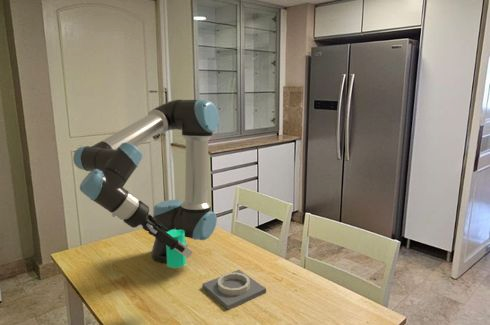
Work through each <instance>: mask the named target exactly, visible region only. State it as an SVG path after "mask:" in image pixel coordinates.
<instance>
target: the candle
mask: <svg viewBox="0 0 490 325" xmlns="http://www.w3.org/2000/svg"><path fill="white" fill-rule="evenodd" d="M167 233H168V234H170V235H171V236H172V237H173V238H175V239H176V240H178V241H180V242H181V243H183V244H184V245H185V241H186V237H185V232H184V230H182V229H181V230H174V229H172V230H170V231H168V232H167ZM166 252H167V263H166V266H168V267H169V268H173V269H177V268H181V267H184V266H185V265H186V264H187V261H186V260H187V258H186V257H185V256H183V255H182V254H181V253H179V252H178V251H176V250H175V249H172V250H170V247H169V246H167V245H166Z"/></svg>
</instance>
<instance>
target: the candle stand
mask: <svg viewBox="0 0 490 325" xmlns="http://www.w3.org/2000/svg"><path fill="white" fill-rule="evenodd" d="M201 287H202V289H203V290H204V291H206V292H207V293H208V294H209V295H210V296H211V297H212V298H214V299H215V300H216V301H217V302H218V303H219V304H220V305H222V306H223V307H224V308H226V310H231V309H233V308H236V307H238V306H239V305H241V304H244V303H247V302H248V301H251V300H253V299H254V298H257V297H259V296H261V295H263V294H265V293H267V288H266V287H265V286H263V285H262V284H260V283H259V282H258V281H256V280H255V279H254V278H252V277H250V276H249V275H247V274H246V273H245V272H243V271H241V270H240V269H237V270H234V271H232V272H227V273H226V274H222V275H221V276H219V277H216V278H213V279H211V280H209V281H208V280H207V281H206V282H203V283H202V284H201Z"/></svg>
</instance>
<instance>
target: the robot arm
mask: <svg viewBox="0 0 490 325" xmlns="http://www.w3.org/2000/svg"><path fill="white" fill-rule="evenodd" d="M219 124H220V115H219V111H218V108H217V107H216V105H215V104H214V102H212V101H210V100H205V99H174V100H171V101H167V102H166V103H163V104H160V105H159V106H157V107H155V108H153V109H151V110H150V111H148V113H147V115H146V116H144V117H143V118H140V119H138V120H137V121H135V122H133V123H131V124H130V125H128V126H126V127H125V128H122V129H121V130H119V131H117V132H115V133H113V134H112V135H110V136H108V137H106V138H104V139H103V140H101V141H98V142H97V143H96V144H93V145H92V146H89V145H86V146H80V147H78V148H77V149H76V150H75V151H74V153H73V164H74V165H75V166H76V168H78V169H79V170H83V171H86V172H89V173H88V174H87V175H86V176H85V177H84V179H83V180H82V181H81V183H80V185H79V190H80V192H81V193H83V195H85V196H86V197H87V198H88V199H90V201H93V202H94V203H96V204H98V205H99V206H101V207H102V208H103V209H105V210H107V211H108V212H110V214H111V216H112V217H113V218H115V217H117V218H118V219H120V220H122V221H123V222H124V223H125V224H126V225H128V226H129V227H131V228H132V229H133V228H137V227H138V226H142V229H143V230H144V231H146V232H148V234H149V235H151V236H152V237H154V242H153V246H152V249H151V257H152V259H153V260H154V261H156V262H158V263H163V264H167V252H166V245H167V246H169V247H170V250H172V249H175V250H176V251H178V252H179V253H181V254H182V255H183V256H185V257H186V259H188V258H189V257H190V256H191V255H192V254H193V253H194V251H193V250H192V249H191V248H189V244H188V243H187V241H186V240H185V245H184V244H183V243H181V242H180V241H178V240H176V239H175V238H173V237H172V236H171V235H170V234H168V233H167V232H168V231H170V230H172V229H174V230H181V229H182V230H184V232H185V238H189V239H192V240H195V241H206V240H208V239H209V238H210V237H211V236H212V235H213V233H214V232H215V229H216V226H217V222H218V221H217V220H218V218H217V217H218V216H217V215H216V213H215V212H213V211H212V205H211V203H210V202H209V200H208V183H209V182H208V179H209V178H208V177H209V175H208V173H209V171H208V170H209V168H208V167H209V141H210V139H212V137H213V133H214V132H216V131H217V129H218V128H219ZM174 130H181V137H183V138H184V140H185V172H184V173H185V177H184V179H185V181H184V182H185V184H184V186H185V187H184V188H185V189H184V193H185V194H184V196H185V197H184V201H182V200H181V199H180V200H179V199H169V200H165V201H164V200H163V201H161V202H159V203H156V204H155V205H154V206H153V214H149V213H150V207H149V205H147V204H146V203H144V202H143V201H142V200H139V198H138V197H137V196H135V195H134V194H133V193H131V192H130V191H128V190H127V189H125V187H124V186H125V184H126V183H127V181H128V180H129V179H130V178H131V176H132V175H133V173H134V171H135V170H136V169H137V168H138V167H139V166H138V165H139V164H140V162H141V160H142V159H143V153H142V151H141V150H140V148H138V147H139V146H140V145H142V144H144V143H145V142H147V141H148V140H150V139H151V138H153V137H155V136H156V135H158V134H165V133H166V132H168V131H174ZM152 215H153V216H152Z"/></svg>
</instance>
